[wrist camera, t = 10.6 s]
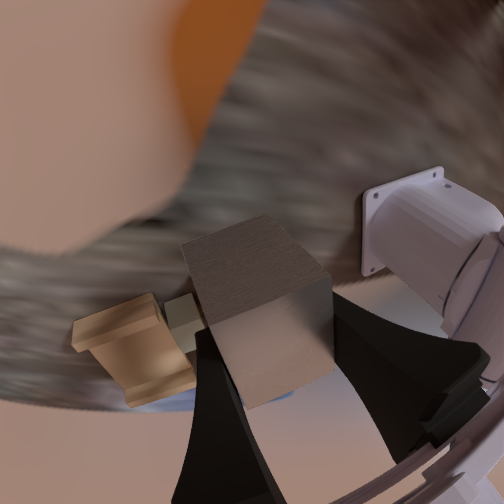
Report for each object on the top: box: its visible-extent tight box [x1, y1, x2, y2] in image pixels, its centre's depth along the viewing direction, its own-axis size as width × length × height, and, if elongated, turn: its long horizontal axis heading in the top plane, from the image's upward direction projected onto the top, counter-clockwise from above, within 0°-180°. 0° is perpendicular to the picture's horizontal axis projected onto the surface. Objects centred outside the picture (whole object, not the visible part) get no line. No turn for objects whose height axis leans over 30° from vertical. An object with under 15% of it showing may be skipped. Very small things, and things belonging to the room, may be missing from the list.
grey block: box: [180, 213, 334, 410], centre depth 12 cm, size 4×5×5 cm
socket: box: [164, 293, 206, 354], centre depth 20 cm, size 9×2×3 cm, turn 101°
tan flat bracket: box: [72, 292, 197, 408], centre depth 20 cm, size 6×8×2 cm
